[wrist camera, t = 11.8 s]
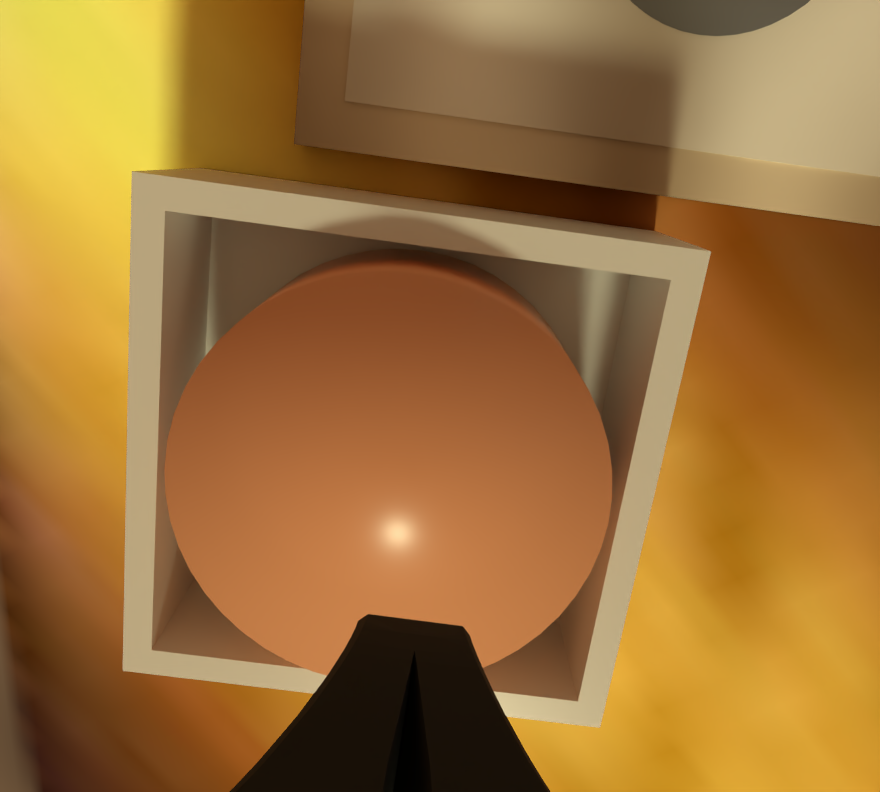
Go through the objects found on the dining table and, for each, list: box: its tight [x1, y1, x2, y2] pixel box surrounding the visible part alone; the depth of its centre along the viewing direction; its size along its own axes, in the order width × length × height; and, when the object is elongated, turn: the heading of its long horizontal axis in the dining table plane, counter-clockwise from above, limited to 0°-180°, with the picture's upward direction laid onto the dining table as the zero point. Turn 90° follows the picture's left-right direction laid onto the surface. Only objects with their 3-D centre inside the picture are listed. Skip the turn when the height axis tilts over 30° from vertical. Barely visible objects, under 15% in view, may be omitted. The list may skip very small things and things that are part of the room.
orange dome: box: [164, 249, 612, 676], centre depth 16 cm, size 8×8×4 cm
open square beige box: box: [123, 168, 711, 728], centre depth 17 cm, size 10×10×4 cm
